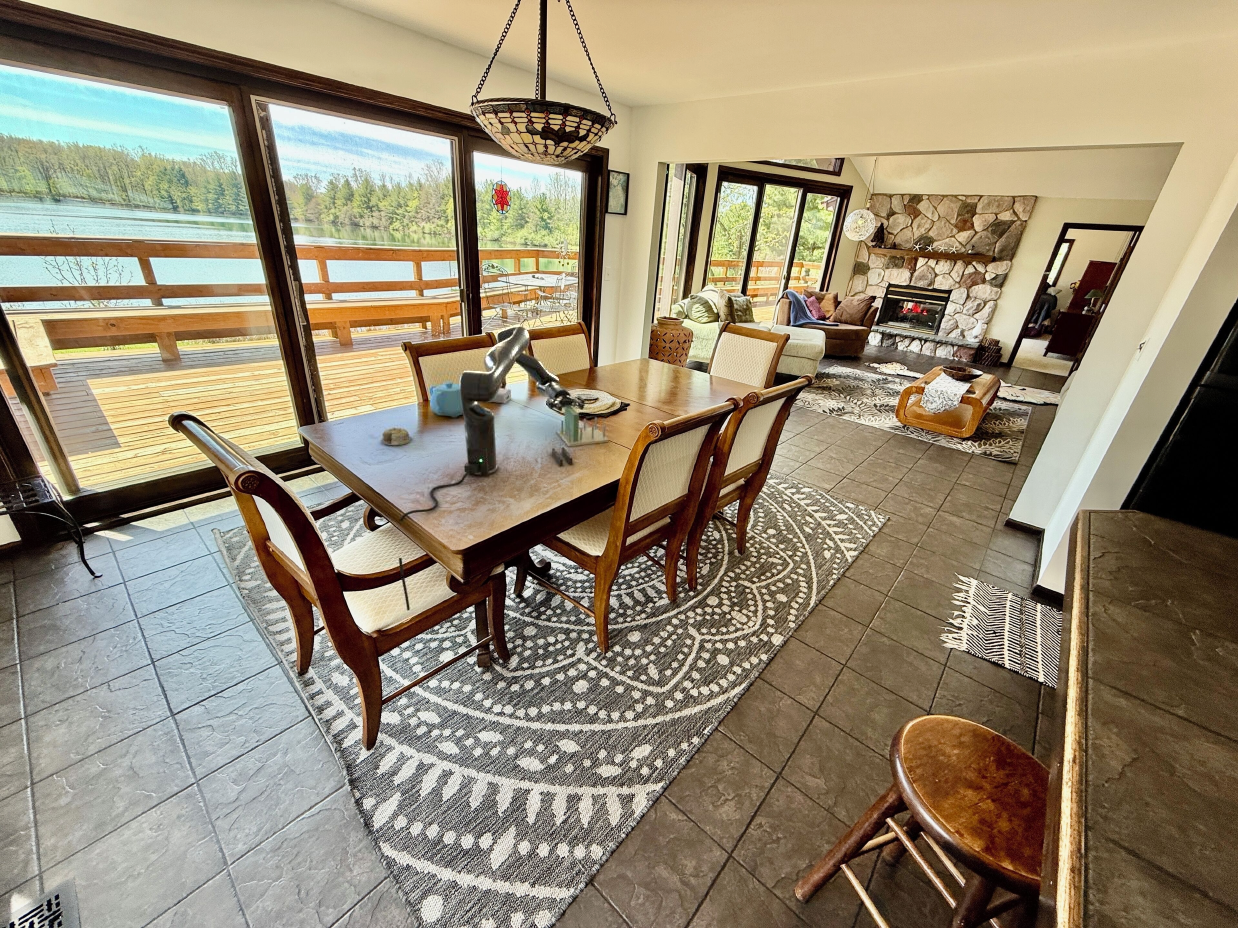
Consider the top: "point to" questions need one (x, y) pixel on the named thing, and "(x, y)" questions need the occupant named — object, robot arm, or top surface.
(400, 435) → the cake
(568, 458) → the pair of dark bars
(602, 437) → the dish rack
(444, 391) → the decorative pot
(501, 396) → the charger
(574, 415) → the lid
